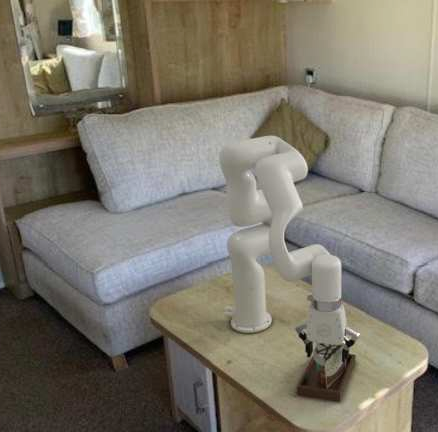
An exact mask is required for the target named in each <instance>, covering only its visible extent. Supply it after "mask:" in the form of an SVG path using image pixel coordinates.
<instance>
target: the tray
mask: <svg viewBox="0 0 438 432" xmlns="http://www.w3.org/2000/svg"><path fill="white" fill-rule="evenodd" d="M356 355H357V354H354V353H349V357H348V359H347V358H346V370H345V371H344V372H343V373H342V374H341V375H340V376H339V377H338V378H337V379H336V380H335V381H334V382H333V383H332V384H331V385H330V386H329V387H328V388H327V389H326V388H324V387H323V386H321V385H320V383H319V381H318V373H317V364H316V361H315V360H314V358H313V356H312V357H311V359H310V361H309V363H308V364H307V366H306V368H305V370H304V372H303V374H302V376H301V378H300V380H299V382H298V383H297V386H296V396H299V397H305V398H311V399H312V398H313V399H319V400H324V401H331V402H337V403H338V402H339V403H341V401H342V398H343V395H344V393H345V390H346V388H347V385H348V383H349V381H350V378H351V376H352V373H353V370H354V368H355V365H356V363H357V362H356V358H357V356H356Z"/></svg>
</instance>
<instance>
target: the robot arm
mask: <svg viewBox="0 0 438 432" xmlns="http://www.w3.org/2000/svg"><path fill="white" fill-rule="evenodd" d="M218 159H219V161H218V162H219V167H220V171H221V172H222V175H223V177H224V180H225V186H226V187H225V188H226V197H227V198H226V199H227V207H228V214H229V219H230V222H231V223H232V225H234V227H238V228H242V229H240V230H237V231H235V232H233V233H231V234H230V235H229V236H228V238H227V241H226V250H227V253H228V256H229V260H230V265H231V266H230V267H231V274H232V287H233V299H234V301H233V302H234V306H227V305H224V307H223V312H224V314H223V315H224V317H225V316H226V317H231V320H230V326H231V327H232V328H233V330H235V331H237V332H239V333H244V334H253V333H258V332H259V333H260V332H262V331H264V330H266V329H267V328H269V327H270V326H271V324H272V321H273V320H272V315H271V314H270V313H269V312H268V311H267V302H266V301H267V300H266V299H267V297H266V280H265V279H266V277H265V270H264V268H263V266H262V265H261V264H260V263H258V259H260V258H262V257H265V256H269V255H270V257H271V260H272V262H273V264H274V266H275V267H274V268H275V269H276V271H277V273H278V275H279V277H280V278H281V279H283V281H285V282H289V283H294V282H297V281H300V280H302V279H305V278H308V277H311V294H307V295H306V301H309V302H310V304H309V306H308V311H307V317H306V321H305V322H303V323H299V324H296V325H295V328H294V329H295V332H296V333H297V335H298V338H299V339H301V341H302V342H303V345H304V347H305V351H304V352H305V353H306V358H309V359H310V358H311V356H312V355H313V352H314V343H316V344H317V343H324V344H331V345H341V346H342V347H343V349H342V362H343V363H345V360H346V358H347V359H348V357H349V354H350V348H352V347H353V346H354V345H355V344H356V342H357V341H358V339H359V338H360V333H358V332H357V331H356V330H353V329H352V328H350V327H349V326H348V325H347V316H346V311H345V306H344V304H342V261H341V259H340V258H339V257H337V256H336V255H332V254H331V253H329V251H328V250H327V249H326V247H324V246H323V245H321V244H317V243H314V244H311V245H308V246H304V247H302V248H299V249H296V250H292V251H288V248H287V245H286V242H285V231H286V229H287V226H288V224H289V223H290V222H291V220H293V218H295V217H297V215H298V214H300V213H301V212H302V210H303V207H304V204H303V203H302V200H301V198H300V194H299V192H298V191H297V188H296V186H295V182H300V181H302V180H304V179H306V177H307V176H308V171H309V170H308V163H307V161H306V159H305V158H304V156H303V154H301V153H300V152H299V150H297V149H296V148H295V147H294V146H293V145H291V144H289V143H288V142H286V141H285V140H283V138H281V137H279V136H277V135H264V136H259V137H253V138H246V139H242V140H236V141H233V142H229V143H227V144H225V145H224V146H223V147H221V149H220V151H219V156H218ZM252 170H254V173H255V175H254V174H253V172H252ZM256 179H257V181H256ZM257 182H258V184H259V187H260V189H257ZM253 225H254V226H253ZM244 227H246V228H244ZM304 330H305V331H306V332H305V331H304ZM347 335H348V336H349V337H351V338H350V339H349V338H348V337H347Z"/></svg>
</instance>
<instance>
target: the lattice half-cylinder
mask: <svg viewBox="0 0 438 432" xmlns="http://www.w3.org/2000/svg"><path fill="white" fill-rule="evenodd" d="M342 349H343V347H342V346H341V345H331V344H324V343H317V342H316V345H315V346H314V348H313V352H312V357H313V358H314V360H315V361H316V364H317V373H318V381H319V383H320V385H321V386H323V387H324V388H326V389H327V388H328V387H329V386H330V385H331V384H332V383H333V382H334V381H335V380H336V379H337V378H338V377H339V376H340V375H341V374H342V373H343V372H344V371H345V370H346V360H345V363H343V362H342Z"/></svg>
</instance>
